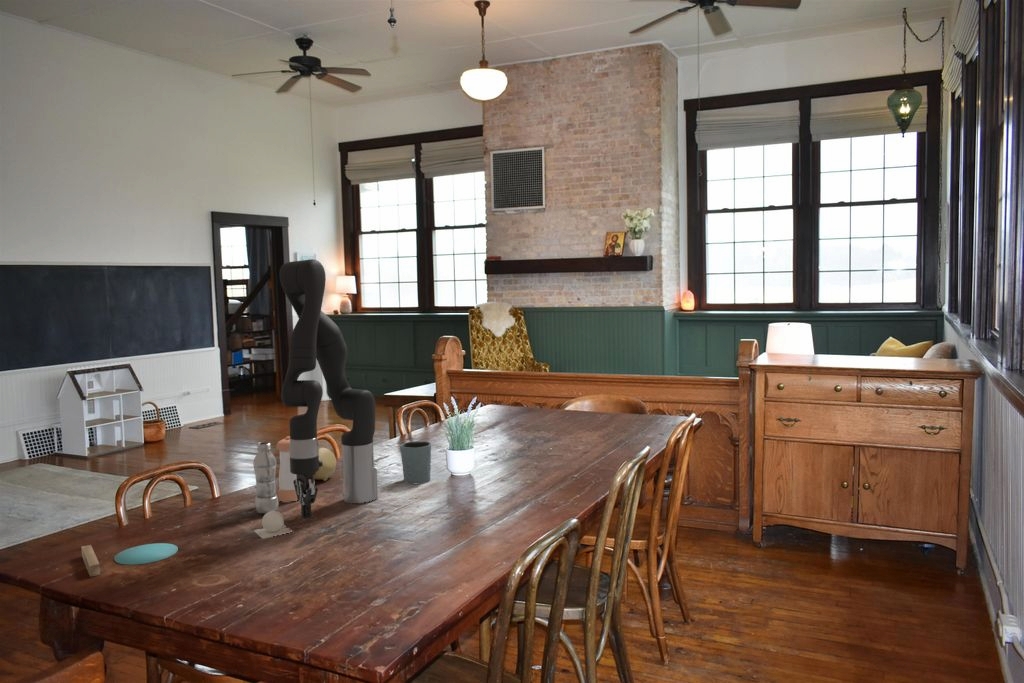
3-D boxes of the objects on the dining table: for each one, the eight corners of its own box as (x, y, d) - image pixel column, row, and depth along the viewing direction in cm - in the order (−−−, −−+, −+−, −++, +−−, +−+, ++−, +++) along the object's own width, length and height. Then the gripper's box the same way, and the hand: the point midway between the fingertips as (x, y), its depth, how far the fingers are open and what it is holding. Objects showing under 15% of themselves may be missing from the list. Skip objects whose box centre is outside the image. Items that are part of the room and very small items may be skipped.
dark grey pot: (417, 486, 243) (415, 448, 242) (394, 481, 249) (393, 445, 248) (438, 479, 251) (437, 442, 250) (416, 474, 257) (415, 439, 256)
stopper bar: (91, 554, 186) (90, 544, 186) (100, 574, 173) (99, 564, 173) (82, 556, 185) (81, 546, 185) (90, 576, 172) (89, 566, 172)
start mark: (283, 524, 206) (283, 524, 206) (293, 532, 200) (293, 531, 200) (253, 530, 202) (253, 530, 202) (262, 539, 195) (262, 538, 195)
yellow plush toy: (295, 483, 248) (294, 451, 248) (316, 474, 260) (315, 443, 259) (322, 485, 245) (320, 453, 244) (342, 476, 257) (340, 445, 256)
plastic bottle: (254, 517, 214) (251, 446, 212) (256, 510, 220) (252, 441, 219) (278, 514, 215) (275, 444, 214) (279, 508, 222) (276, 440, 220)
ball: (280, 526, 205) (279, 506, 204) (287, 532, 200) (286, 511, 200) (259, 531, 202) (258, 510, 201) (266, 536, 197) (265, 515, 197)
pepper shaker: (273, 500, 229) (270, 437, 228) (290, 494, 236) (287, 433, 234) (291, 503, 226) (288, 439, 224) (308, 497, 232) (305, 435, 231)
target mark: (171, 540, 196) (171, 539, 196) (183, 555, 184) (183, 554, 184) (110, 552, 188) (110, 551, 188) (119, 569, 176) (119, 568, 176)
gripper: (326, 456, 201) (328, 521, 203) (309, 448, 212) (311, 509, 214) (298, 460, 197) (301, 526, 198) (282, 452, 208) (284, 514, 209)
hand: (306, 517), depth 206 cm, fingers closed
